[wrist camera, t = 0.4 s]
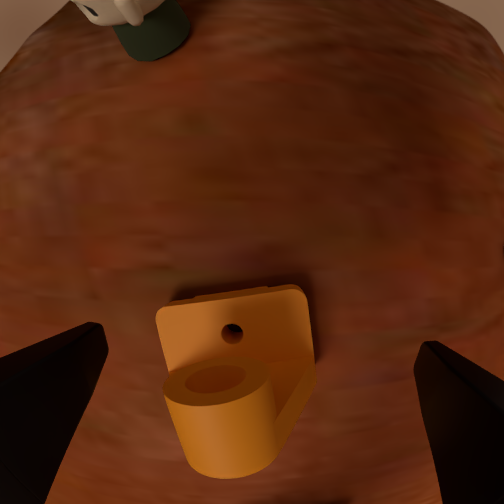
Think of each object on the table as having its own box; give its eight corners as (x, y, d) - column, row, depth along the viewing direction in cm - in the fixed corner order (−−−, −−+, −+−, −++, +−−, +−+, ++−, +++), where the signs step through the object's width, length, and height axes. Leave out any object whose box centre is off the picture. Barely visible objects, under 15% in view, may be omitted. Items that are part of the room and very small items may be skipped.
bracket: (301, 280, 23) (329, 332, 11) (312, 366, 23) (338, 466, 11) (165, 300, 24) (81, 355, 12) (184, 380, 24) (130, 472, 12)
